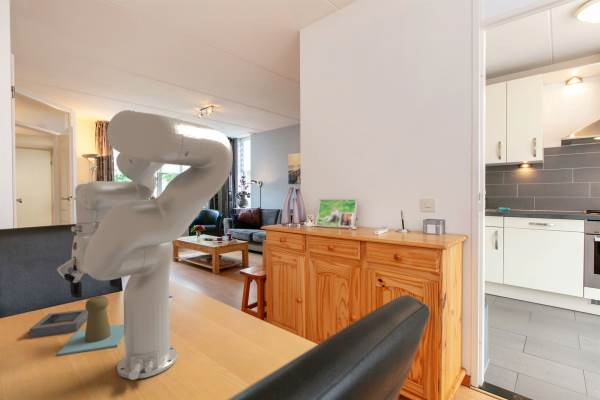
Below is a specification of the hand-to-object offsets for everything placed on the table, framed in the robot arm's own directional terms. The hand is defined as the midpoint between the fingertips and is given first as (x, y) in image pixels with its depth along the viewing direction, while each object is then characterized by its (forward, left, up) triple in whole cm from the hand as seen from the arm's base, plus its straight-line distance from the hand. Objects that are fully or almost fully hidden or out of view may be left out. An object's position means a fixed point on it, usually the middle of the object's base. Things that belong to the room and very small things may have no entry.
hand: (96, 291), depth 80 cm
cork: (+1, 0, -13) cm, 13 cm away
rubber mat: (+1, +1, -13) cm, 13 cm away
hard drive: (+28, -10, -14) cm, 33 cm away
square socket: (+13, +13, -13) cm, 23 cm away
